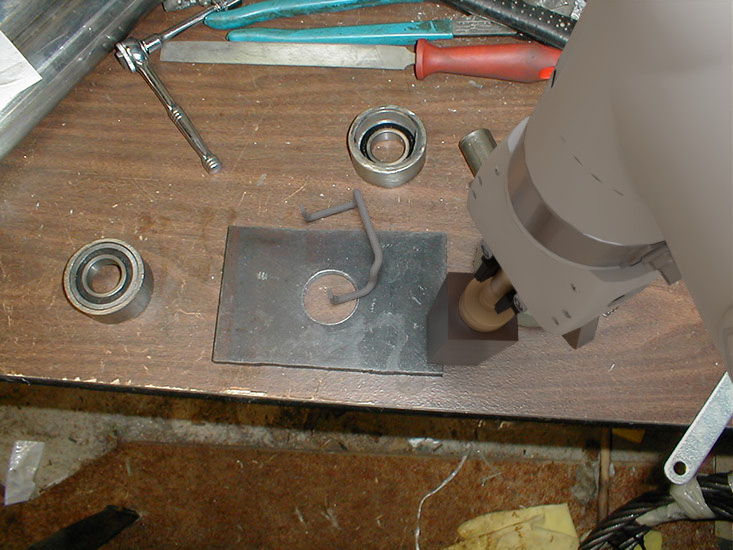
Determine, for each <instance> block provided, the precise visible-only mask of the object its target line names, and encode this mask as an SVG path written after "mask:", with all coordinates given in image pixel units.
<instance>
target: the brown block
mask: <svg viewBox="0 0 733 550" xmlns="http://www.w3.org/2000/svg"><path fill="white" fill-rule="evenodd" d="M474 274H475V273H474V272H465V271H464V272H460V271H448V272H447V273H446V275H445V277H444V279H443V281H442V284H441V286H440V288H439V290H438V291H437V294H436V296H435V298H434V300H433V302H432V304H431V306H430V308H429V310H428V312H427V314H426V365H427V364H436V365H435V366H460V367H477V366H479V365H480V364H482V363H484V362H485V361H487V360H489V359H491V358H493V357H494V356H496V355H497V354H499V353H501V352H502V351H504V350H506V349H508V348H509V347H511V346H513V345H515V344H516V343H518V342H519V324H518V315H515V314H514V316H513V317H512V318H511V319H510V320H509V321H508V322H507V323H505V324H504V325H503V326H502V327H500V328H499V329H497V330H495V331H492V332H480V331H476V330H474V329H472V328H470V327H469V326H468V325H467V324H466V323H465V322H464V321H463V319H462V317H461V315H460V312H459V300H460V297H461V295H462V293H463V292H464V290H465V289H466V287H467V286H468V284H469V283H470V282H471V281H472V280H473V279H474V278H475V277H474Z"/></svg>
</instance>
